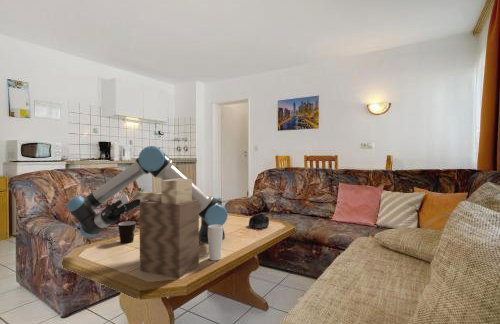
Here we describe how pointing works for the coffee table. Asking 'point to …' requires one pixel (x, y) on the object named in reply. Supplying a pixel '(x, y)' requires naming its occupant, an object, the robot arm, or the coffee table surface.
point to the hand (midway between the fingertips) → (139, 195)
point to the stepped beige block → (169, 192)
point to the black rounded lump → (259, 221)
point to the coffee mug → (126, 232)
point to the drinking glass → (215, 241)
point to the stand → (169, 237)
